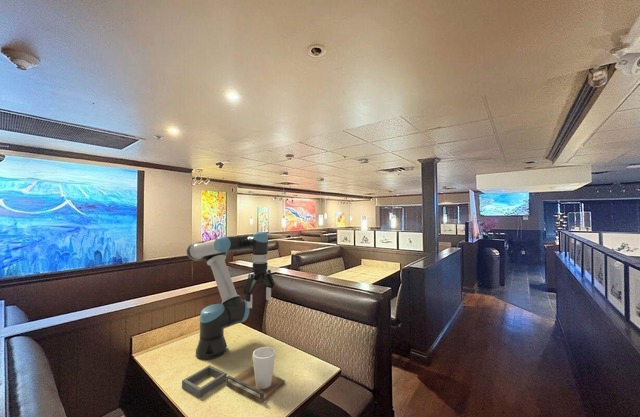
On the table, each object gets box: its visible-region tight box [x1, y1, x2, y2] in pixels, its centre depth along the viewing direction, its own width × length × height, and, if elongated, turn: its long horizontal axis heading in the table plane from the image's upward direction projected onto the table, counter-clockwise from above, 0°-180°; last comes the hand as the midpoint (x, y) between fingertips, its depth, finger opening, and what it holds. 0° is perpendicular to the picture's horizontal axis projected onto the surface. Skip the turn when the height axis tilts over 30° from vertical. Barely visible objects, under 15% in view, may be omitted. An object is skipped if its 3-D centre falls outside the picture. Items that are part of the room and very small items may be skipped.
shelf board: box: [226, 365, 286, 405], centre depth 110 cm, size 20×14×4 cm
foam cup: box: [252, 346, 276, 389], centre depth 109 cm, size 10×9×13 cm
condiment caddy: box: [181, 365, 228, 399], centre depth 110 cm, size 12×13×3 cm
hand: (259, 303), depth 133 cm, fingers open, 13 cm apart
